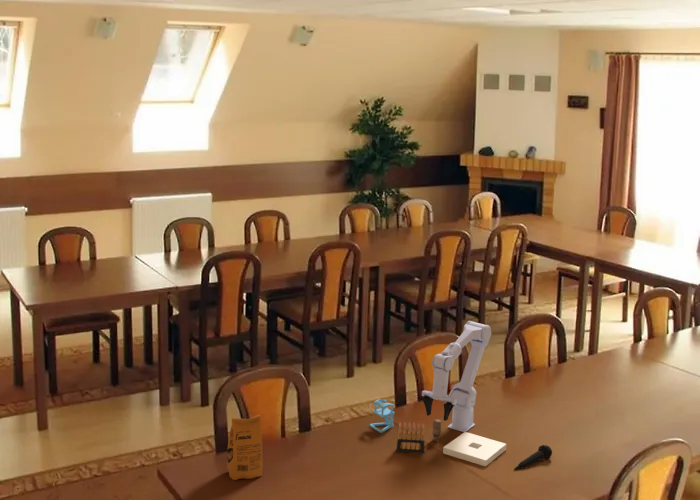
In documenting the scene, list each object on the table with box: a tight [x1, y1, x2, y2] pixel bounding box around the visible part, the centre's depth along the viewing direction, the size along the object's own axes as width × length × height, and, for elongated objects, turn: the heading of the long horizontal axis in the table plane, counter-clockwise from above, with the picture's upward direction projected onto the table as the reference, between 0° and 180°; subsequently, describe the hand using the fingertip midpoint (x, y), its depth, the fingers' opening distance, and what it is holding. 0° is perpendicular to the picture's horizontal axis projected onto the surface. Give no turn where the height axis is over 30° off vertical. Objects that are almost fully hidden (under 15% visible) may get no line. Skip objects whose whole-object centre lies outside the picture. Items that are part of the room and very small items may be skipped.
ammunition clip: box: [396, 421, 426, 454], centre depth 343 cm, size 11×2×12 cm, turn 85°
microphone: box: [513, 444, 553, 471], centre depth 337 cm, size 6×6×20 cm
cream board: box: [442, 431, 507, 467], centre depth 345 cm, size 18×18×2 cm
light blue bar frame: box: [369, 398, 396, 434], centre depth 364 cm, size 8×8×12 cm
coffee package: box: [226, 414, 264, 481], centre depth 320 cm, size 10×12×22 cm
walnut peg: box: [431, 419, 442, 442], centre depth 354 cm, size 3×3×8 cm
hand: (437, 417), depth 352 cm, fingers open, 7 cm apart
